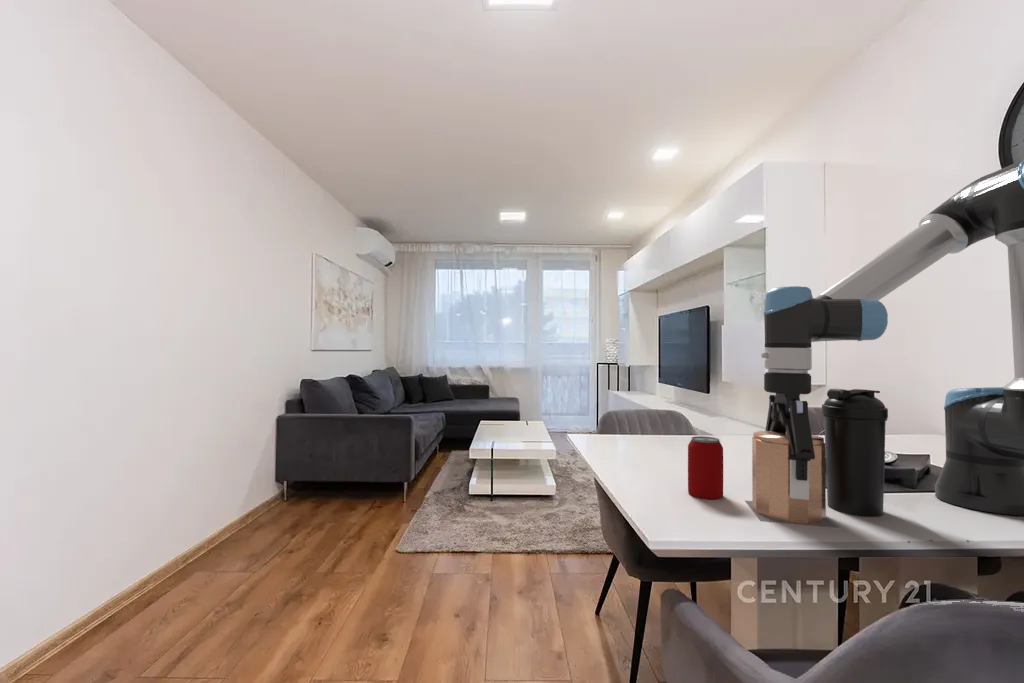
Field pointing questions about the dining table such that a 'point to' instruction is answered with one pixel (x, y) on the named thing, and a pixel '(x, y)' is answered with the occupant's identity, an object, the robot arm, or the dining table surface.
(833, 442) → the water bottle
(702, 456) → the beverage can
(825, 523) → the mat
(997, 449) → the robot arm
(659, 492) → the dining table surface
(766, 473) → the copper oval canister
